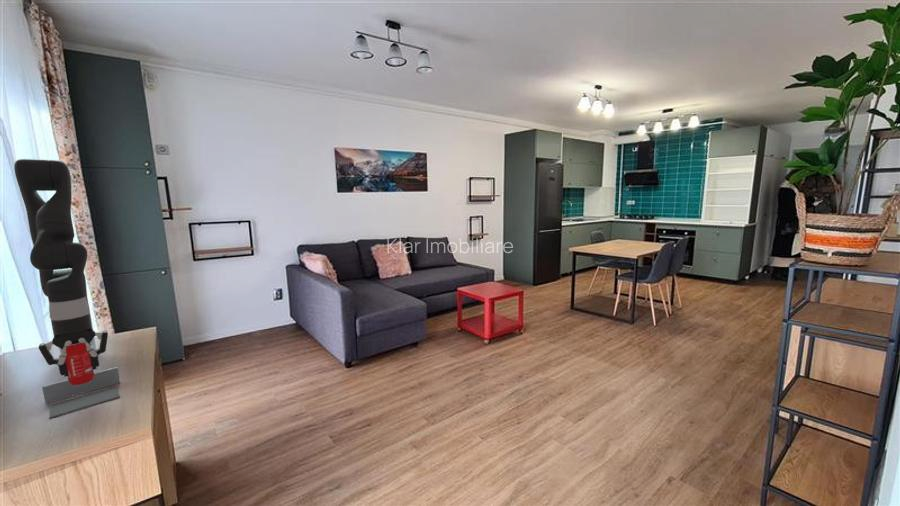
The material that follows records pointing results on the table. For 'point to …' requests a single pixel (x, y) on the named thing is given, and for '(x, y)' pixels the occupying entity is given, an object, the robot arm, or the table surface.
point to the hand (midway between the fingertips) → (80, 371)
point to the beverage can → (78, 364)
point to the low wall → (66, 389)
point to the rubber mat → (83, 401)
